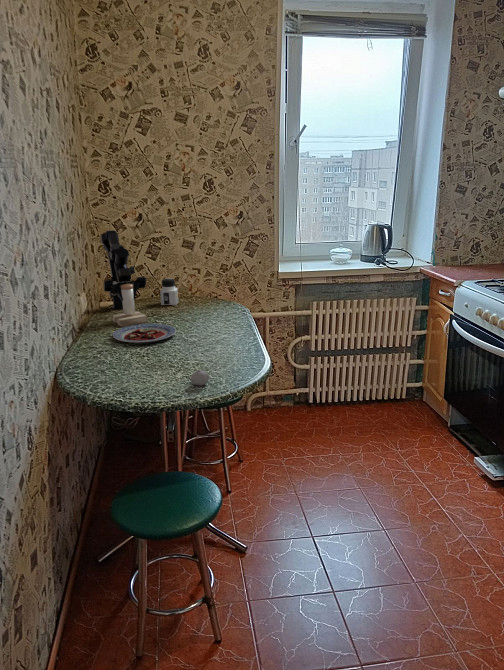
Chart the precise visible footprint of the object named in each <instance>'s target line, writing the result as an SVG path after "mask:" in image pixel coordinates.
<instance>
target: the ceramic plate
mask: <svg viewBox="0 0 504 670" xmlns="http://www.w3.org/2000/svg"><path fill="white" fill-rule="evenodd" d="M176 332H177V329H176V328H175V327H174V326H171V325H170V324H169V325H168V324H164V323H163V324H162V323H142V324H136V325H130V326H125V327H121V328H119V329H117V330H115V331H114V332H113V333H112V337H113V338H114V339H115V340H117V341H120V342H123V343H132V344H133V343H134V344H147V343H153V342H154V343H155V342H158V341H161V340H165V339H168V338H171V337H172V336H174V335H175V334H176Z"/></svg>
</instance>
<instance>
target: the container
mask: <svg viewBox="0 0 504 670" xmlns="http://www.w3.org/2000/svg"><path fill="white" fill-rule="evenodd" d="M161 287H162V289H160V291H159V292H160V293H159V294H160V295H159V296H160V305H173V306H177V305H178V304H179V293H178V292H179V291H178V287H176V281H175V278H174V279H173V278H170V277H169V278H168V277H167V278H163V279H162V280H161Z"/></svg>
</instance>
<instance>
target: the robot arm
mask: <svg viewBox="0 0 504 670" xmlns="http://www.w3.org/2000/svg"><path fill="white" fill-rule="evenodd" d="M99 237H100V243H101V244H102V248H103V249H104V250H105V251H106V253H107V259H108V264H109V270H110V275H111V278H110V279H105V280H104V281H103V292H108V295H109V297H110V298H112V305H111V309H113V310H123V303H122V301H123V298H122V293H121V285H122V284H133V294H134V300H136V295H137V291H138V290H140V289H144V288H146V287H147V286H146V285H147V279H146V277H145V276H136V280H135V279H134V280H132V275H134V274H136V270H135V265H134V266H129V267H128V262H129V257H130V252H129V250H128V249H127V248H125V246H123V245H121V243H120V236H119V233H118V232H117V230H115V229H114V230H107V231H105V232H103V233H101V234H100V236H99Z"/></svg>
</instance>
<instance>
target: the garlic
mask: <svg viewBox="0 0 504 670" xmlns="http://www.w3.org/2000/svg"><path fill="white" fill-rule="evenodd" d="M209 380H210V375H209V373H208V372H207V371H205V370H200V369H197V370H195V371H193V372H192V374H191V376H190V382H191V384H192V385H194V386H204V385H206V384H207V383H208V382H209Z"/></svg>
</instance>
